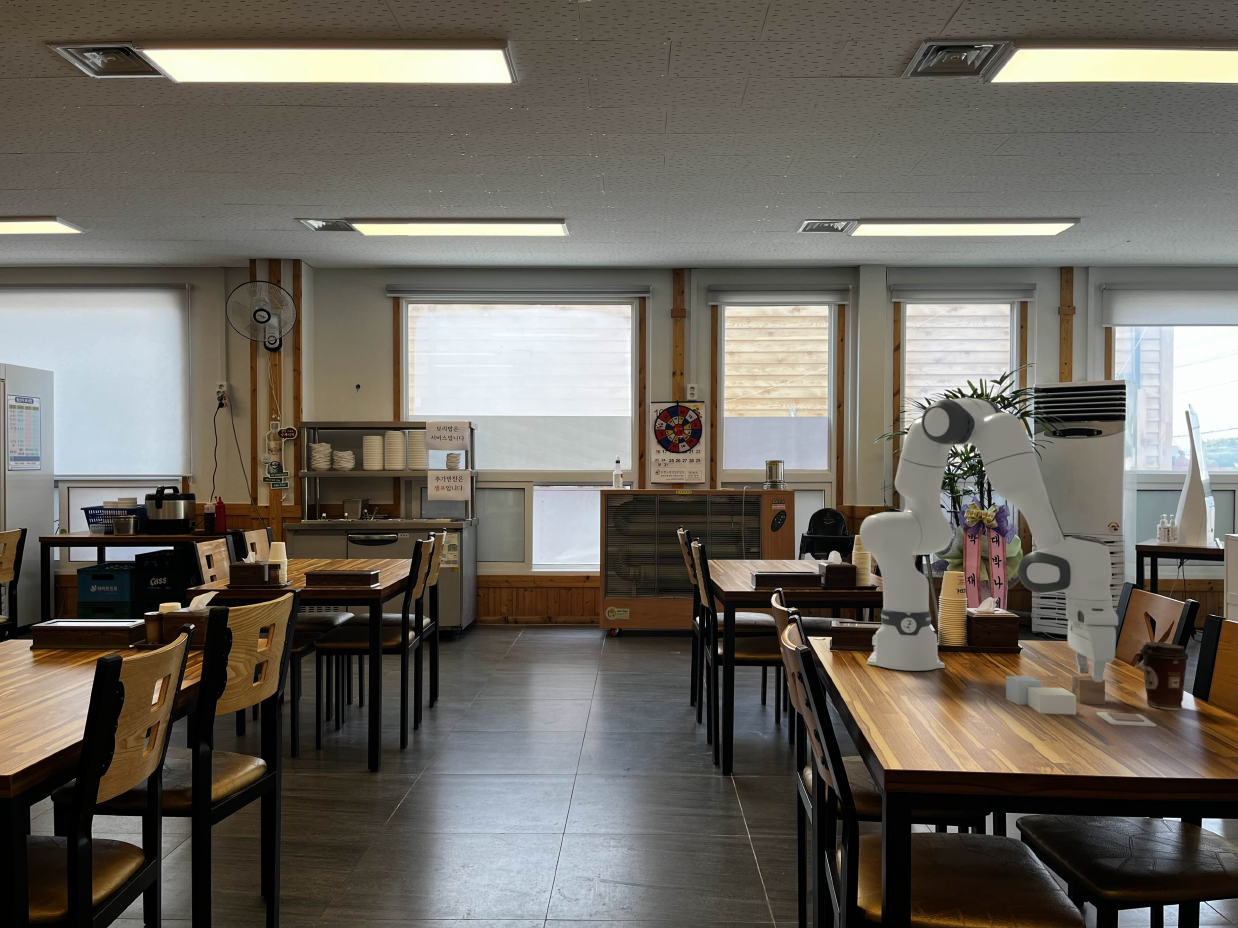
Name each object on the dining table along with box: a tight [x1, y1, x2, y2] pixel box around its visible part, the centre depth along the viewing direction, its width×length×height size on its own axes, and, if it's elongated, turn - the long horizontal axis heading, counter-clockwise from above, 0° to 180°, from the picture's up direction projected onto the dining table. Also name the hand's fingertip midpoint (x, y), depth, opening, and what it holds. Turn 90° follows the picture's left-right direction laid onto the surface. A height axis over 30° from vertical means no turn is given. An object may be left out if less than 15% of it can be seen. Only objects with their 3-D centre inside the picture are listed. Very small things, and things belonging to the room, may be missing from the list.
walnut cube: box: [1071, 674, 1106, 705], centre depth 194 cm, size 5×5×5 cm
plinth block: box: [1027, 686, 1077, 715], centre depth 186 cm, size 7×7×4 cm
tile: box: [1096, 711, 1157, 727], centre depth 178 cm, size 8×8×1 cm
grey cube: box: [1005, 675, 1042, 706], centre depth 193 cm, size 5×5×5 cm
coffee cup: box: [1139, 641, 1190, 711], centre depth 190 cm, size 9×8×13 cm
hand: (1090, 677), depth 194 cm, fingers open, 8 cm apart
